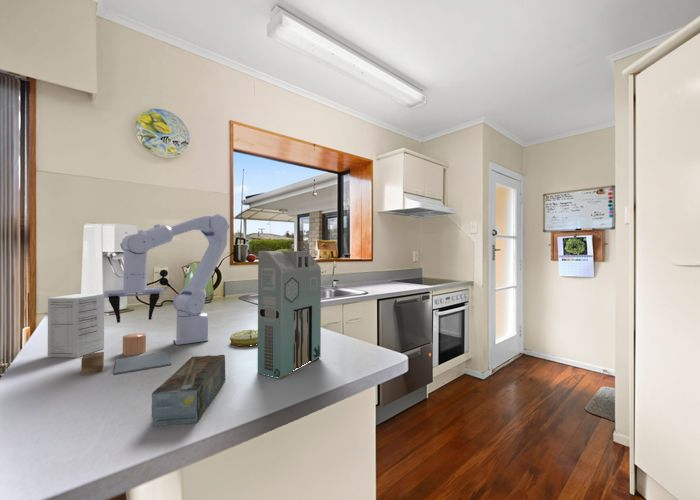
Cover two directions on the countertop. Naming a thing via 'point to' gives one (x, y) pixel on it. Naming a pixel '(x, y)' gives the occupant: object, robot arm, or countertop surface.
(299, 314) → the device
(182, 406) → the beverage carton
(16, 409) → the countertop surface
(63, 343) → the supplement box
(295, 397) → the countertop surface
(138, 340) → the peach faceted cylinder
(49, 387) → the countertop surface
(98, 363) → the walnut block
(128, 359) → the slate mat
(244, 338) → the decorated donut
